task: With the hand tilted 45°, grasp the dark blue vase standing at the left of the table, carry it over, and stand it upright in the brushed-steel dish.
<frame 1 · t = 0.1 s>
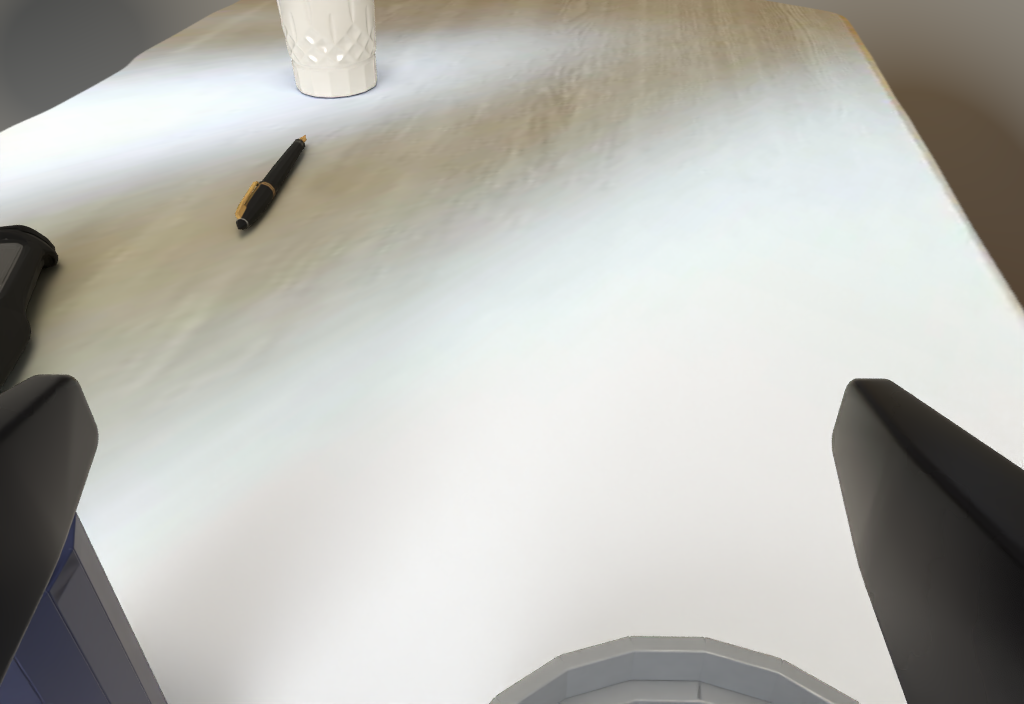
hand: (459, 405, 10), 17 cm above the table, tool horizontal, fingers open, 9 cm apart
white cup: (338, 87, 70), on the table
electric trimmer: (7, 338, 40), on the table
fountain pen: (278, 189, 53), on the table
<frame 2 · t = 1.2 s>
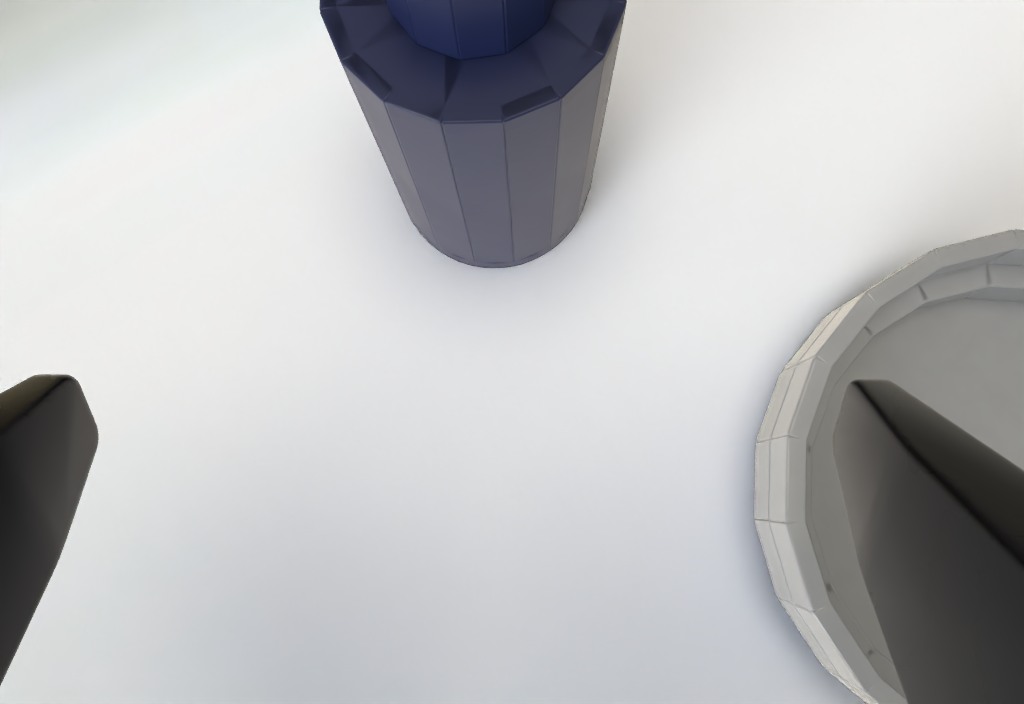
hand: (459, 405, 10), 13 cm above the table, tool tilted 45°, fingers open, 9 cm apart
steel dish: (991, 497, 22), on the table
dark blue vase: (495, 178, 24), on the table
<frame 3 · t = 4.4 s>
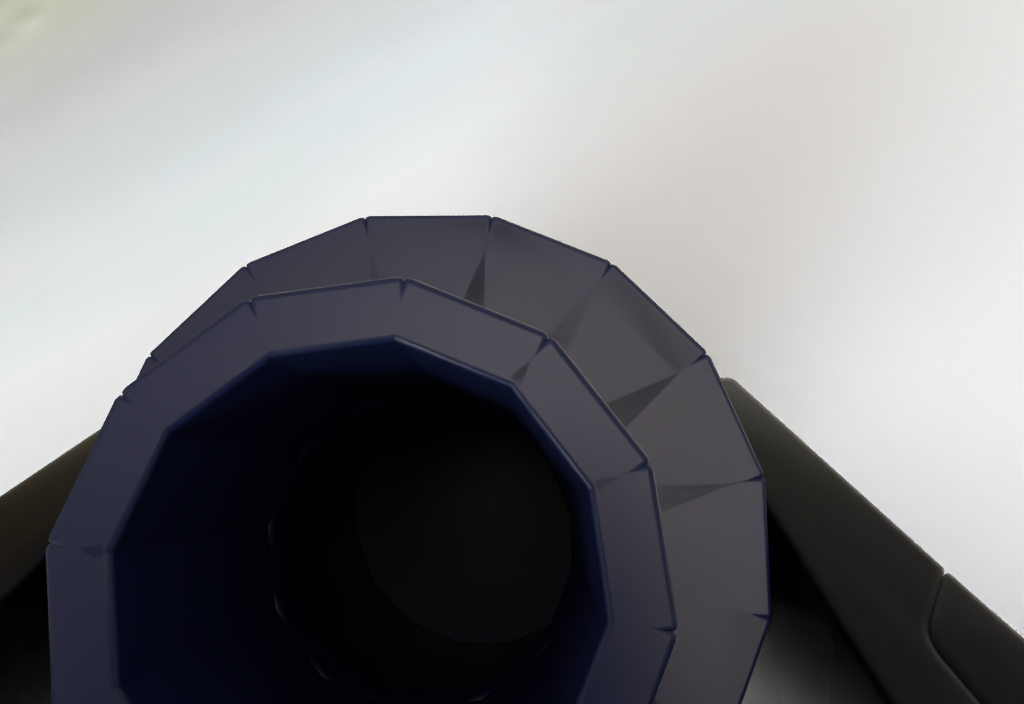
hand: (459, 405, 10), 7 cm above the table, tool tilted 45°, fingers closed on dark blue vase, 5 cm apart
dark blue vase: (486, 506, 16), on the table, touching gripper
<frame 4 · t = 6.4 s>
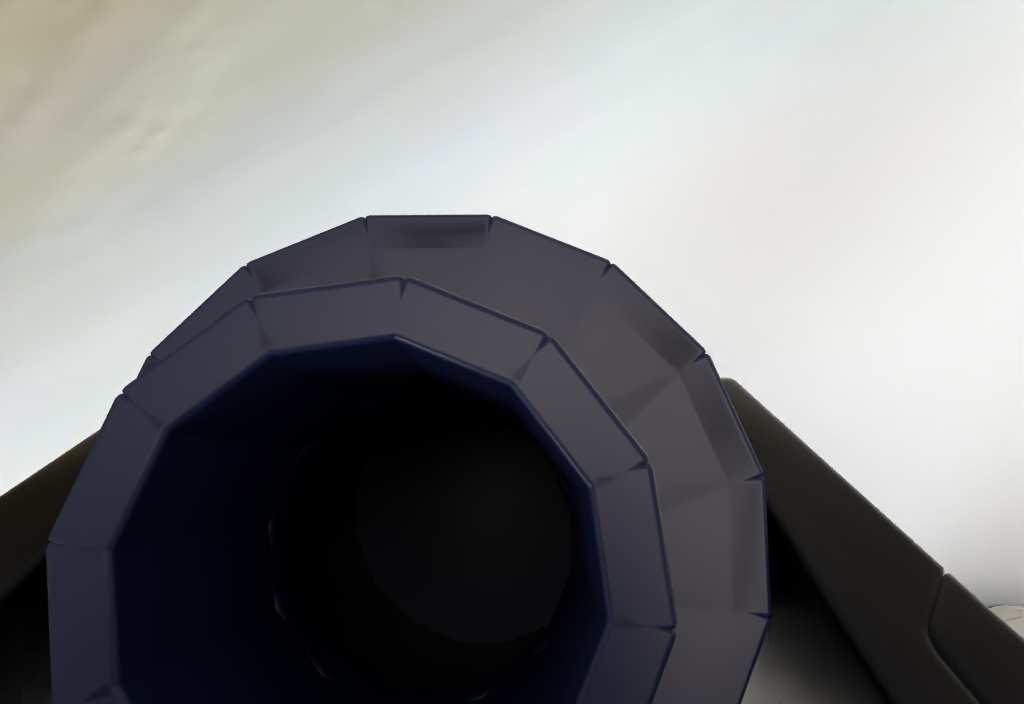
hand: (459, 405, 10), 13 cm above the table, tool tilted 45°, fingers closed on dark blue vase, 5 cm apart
dark blue vase: (486, 506, 16), point 6 cm above the table, touching gripper
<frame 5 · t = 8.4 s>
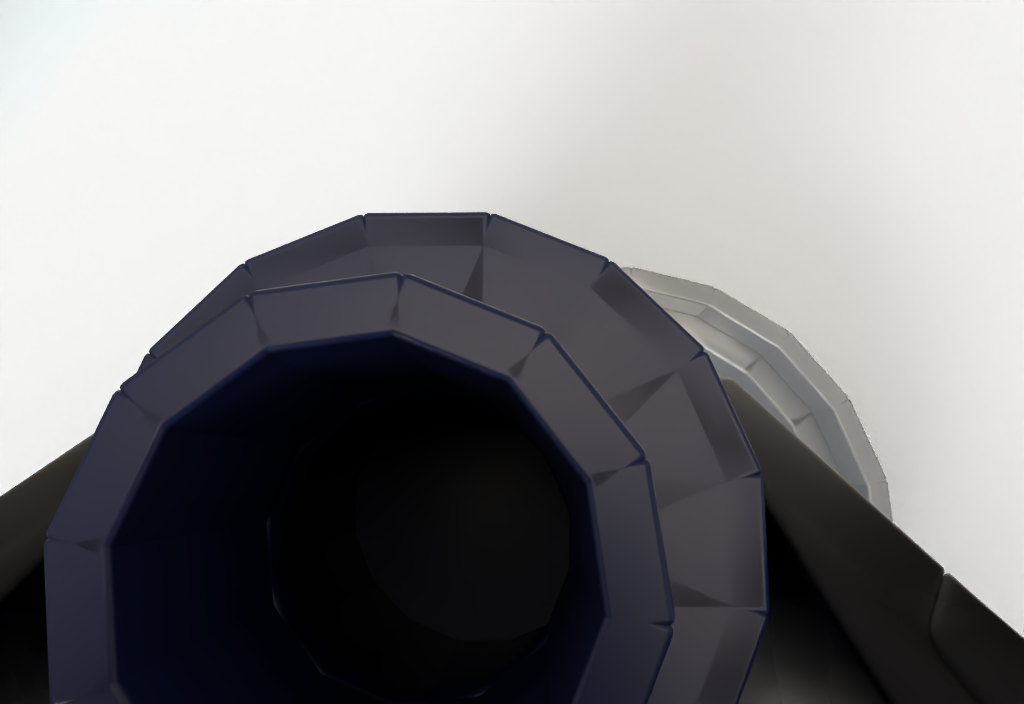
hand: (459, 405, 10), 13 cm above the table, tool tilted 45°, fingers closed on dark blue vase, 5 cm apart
steel dish: (599, 533, 22), on the table
dark blue vase: (486, 505, 16), point 6 cm above the table, touching gripper
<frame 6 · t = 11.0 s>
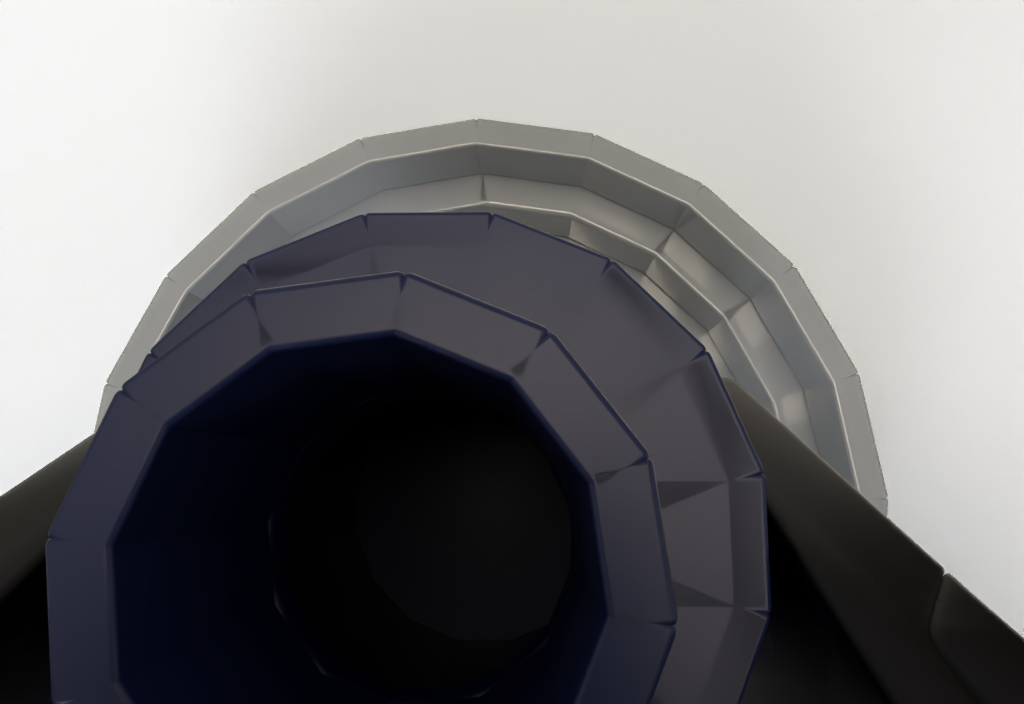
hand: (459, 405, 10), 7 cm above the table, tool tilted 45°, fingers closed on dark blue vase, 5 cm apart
steel dish: (488, 497, 16), on the table
dark blue vase: (486, 505, 16), resting on steel dish, touching gripper
when the fingers open (7 cm above the table, at t = 11.4 s): dark blue vase stays where it is, resting on steel dish.
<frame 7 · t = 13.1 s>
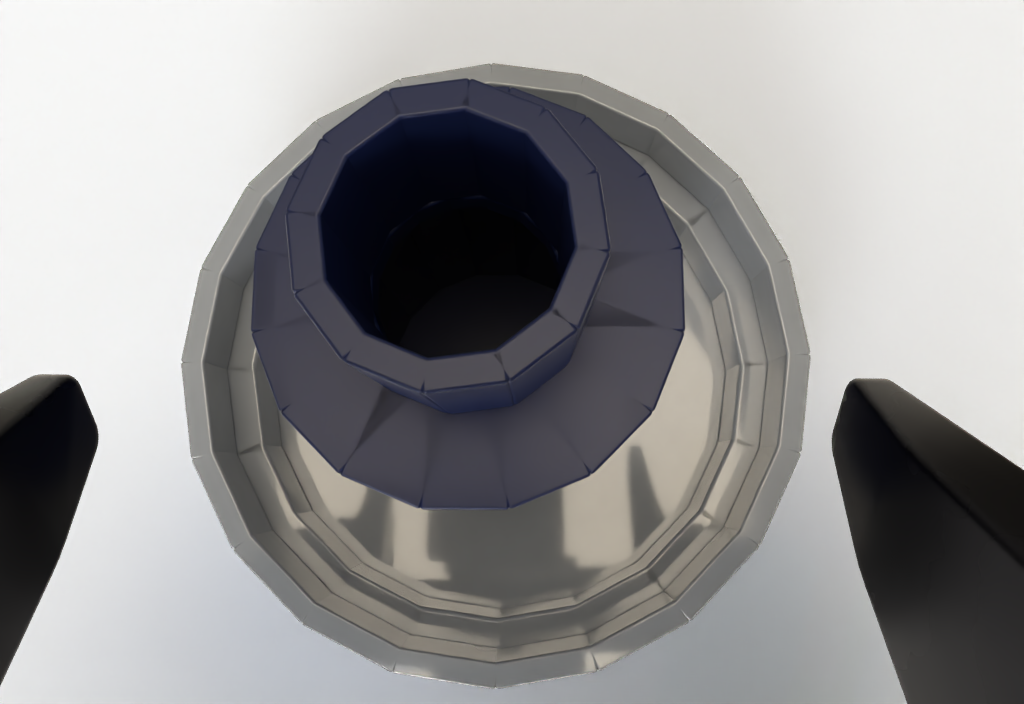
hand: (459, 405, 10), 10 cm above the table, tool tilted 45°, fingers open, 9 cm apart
steel dish: (499, 376, 20), on the table
dark blue vase: (497, 377, 20), resting on steel dish
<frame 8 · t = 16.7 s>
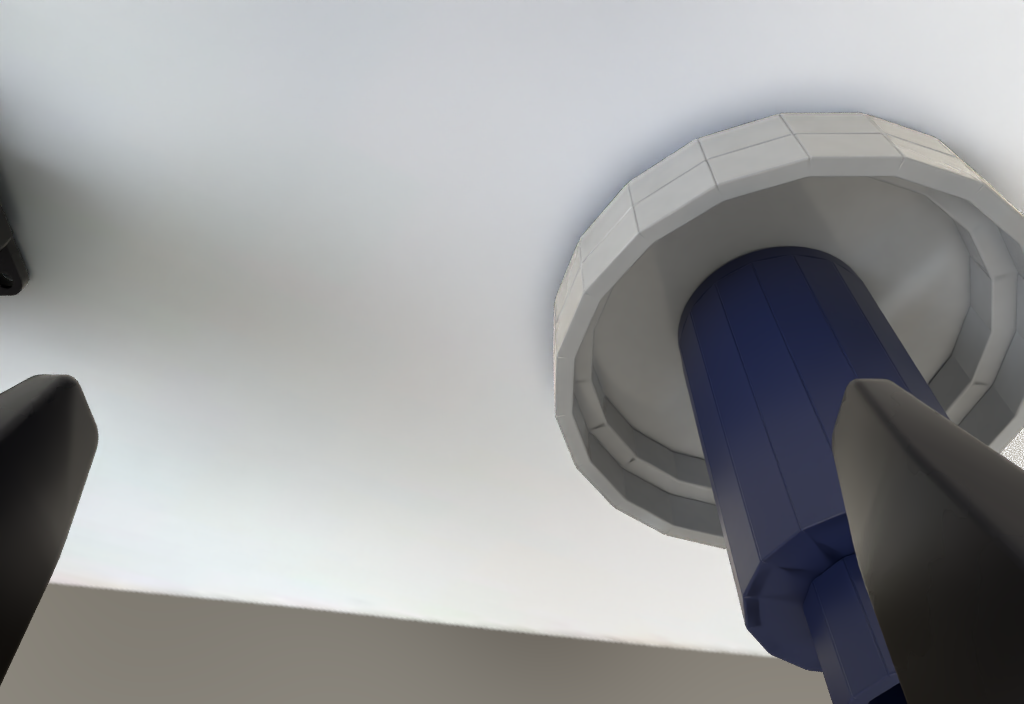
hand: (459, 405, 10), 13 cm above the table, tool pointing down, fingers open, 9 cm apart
steel dish: (771, 321, 24), on the table
dark blue vase: (771, 327, 24), resting on steel dish
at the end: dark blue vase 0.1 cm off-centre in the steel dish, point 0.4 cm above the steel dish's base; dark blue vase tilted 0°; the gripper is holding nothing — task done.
